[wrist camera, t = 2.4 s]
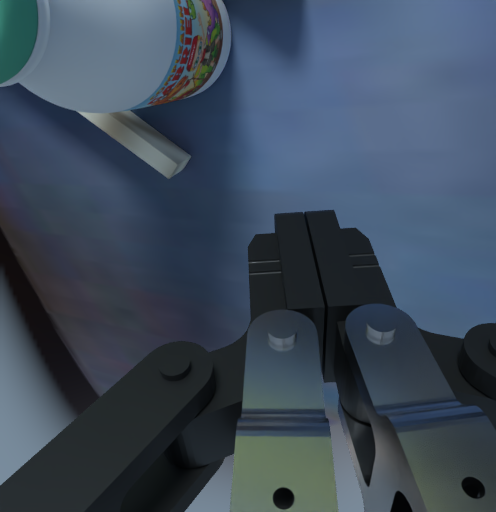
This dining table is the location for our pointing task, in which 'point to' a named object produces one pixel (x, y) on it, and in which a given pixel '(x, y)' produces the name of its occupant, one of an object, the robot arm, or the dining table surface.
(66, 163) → the dining table surface
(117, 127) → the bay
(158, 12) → the milk bottle
